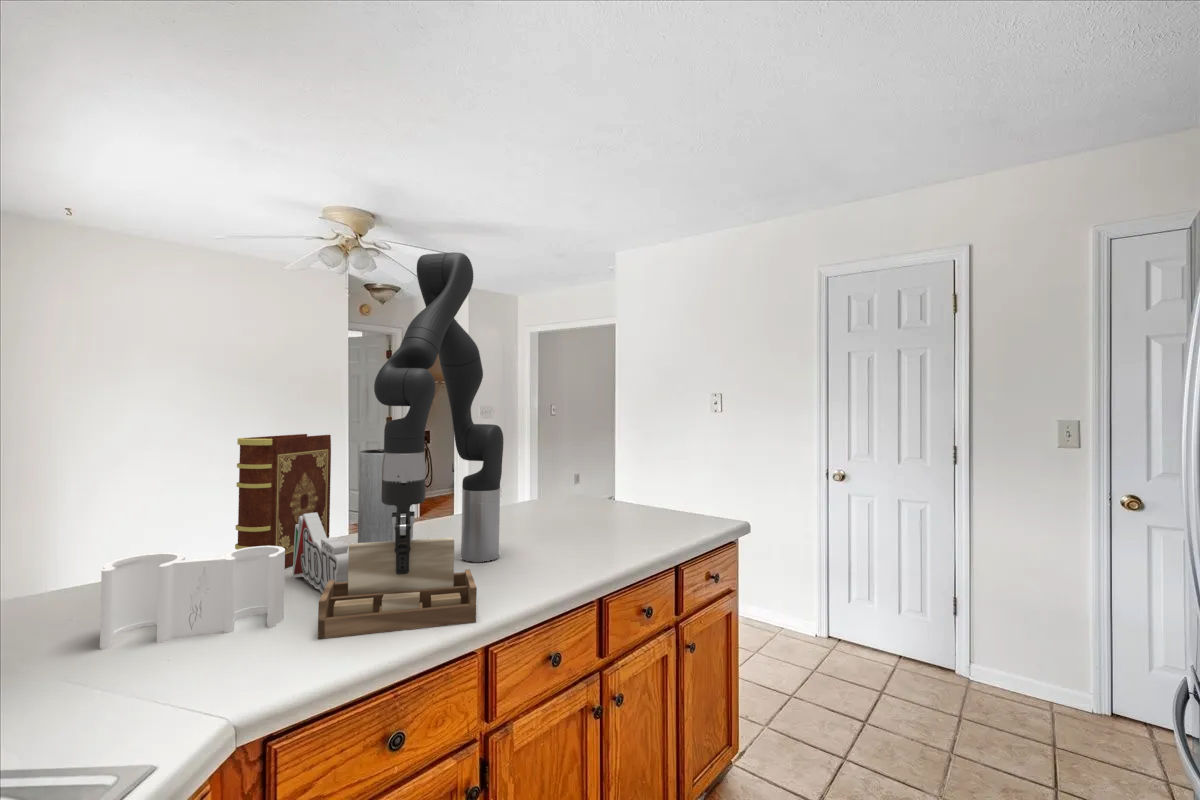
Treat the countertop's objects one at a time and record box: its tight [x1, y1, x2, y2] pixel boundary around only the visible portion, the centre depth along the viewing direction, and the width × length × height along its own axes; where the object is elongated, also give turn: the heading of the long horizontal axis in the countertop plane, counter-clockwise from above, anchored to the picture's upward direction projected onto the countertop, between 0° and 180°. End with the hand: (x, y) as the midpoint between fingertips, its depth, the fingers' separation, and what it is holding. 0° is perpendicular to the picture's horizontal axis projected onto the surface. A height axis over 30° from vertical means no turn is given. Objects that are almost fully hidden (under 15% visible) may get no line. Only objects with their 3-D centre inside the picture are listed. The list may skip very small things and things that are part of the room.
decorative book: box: [234, 433, 332, 569], centre depth 132 cm, size 22×8×30 cm, turn 168°
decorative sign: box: [291, 512, 349, 594], centre depth 115 cm, size 23×3×15 cm, turn 47°
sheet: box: [348, 536, 455, 596], centre depth 102 cm, size 2×18×12 cm, turn 109°
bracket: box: [99, 546, 286, 650], centre depth 94 cm, size 25×10×12 cm, turn 113°
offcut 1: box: [333, 598, 374, 617], centre depth 94 cm, size 3×6×4 cm, turn 109°
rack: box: [317, 568, 478, 640], centre depth 99 cm, size 12×25×6 cm, turn 109°
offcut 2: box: [431, 593, 461, 607], centre depth 99 cm, size 3×5×4 cm, turn 108°
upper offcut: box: [382, 592, 420, 611], centre depth 97 cm, size 3×6×2 cm, turn 105°
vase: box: [357, 448, 397, 543], centre depth 130 cm, size 10×10×27 cm
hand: (402, 570), depth 102 cm, fingers closed on sheet, 2 cm apart
